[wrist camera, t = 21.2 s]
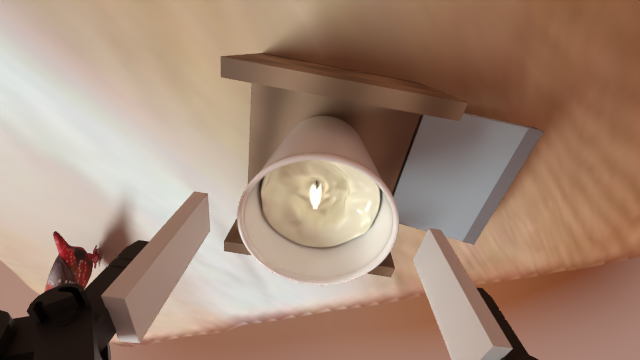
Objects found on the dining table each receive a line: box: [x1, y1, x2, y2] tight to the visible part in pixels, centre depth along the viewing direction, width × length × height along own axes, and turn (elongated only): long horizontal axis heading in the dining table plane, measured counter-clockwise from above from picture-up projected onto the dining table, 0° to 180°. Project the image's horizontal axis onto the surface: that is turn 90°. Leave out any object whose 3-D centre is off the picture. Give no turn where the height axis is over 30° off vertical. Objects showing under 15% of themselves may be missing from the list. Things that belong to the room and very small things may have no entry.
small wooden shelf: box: [221, 53, 468, 277], centre depth 24 cm, size 16×16×10 cm
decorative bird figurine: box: [45, 231, 99, 291], centre depth 33 cm, size 3×18×10 cm, turn 155°
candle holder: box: [237, 116, 399, 285], centre depth 20 cm, size 10×10×12 cm
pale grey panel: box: [392, 113, 544, 245], centre depth 26 cm, size 1×13×10 cm
